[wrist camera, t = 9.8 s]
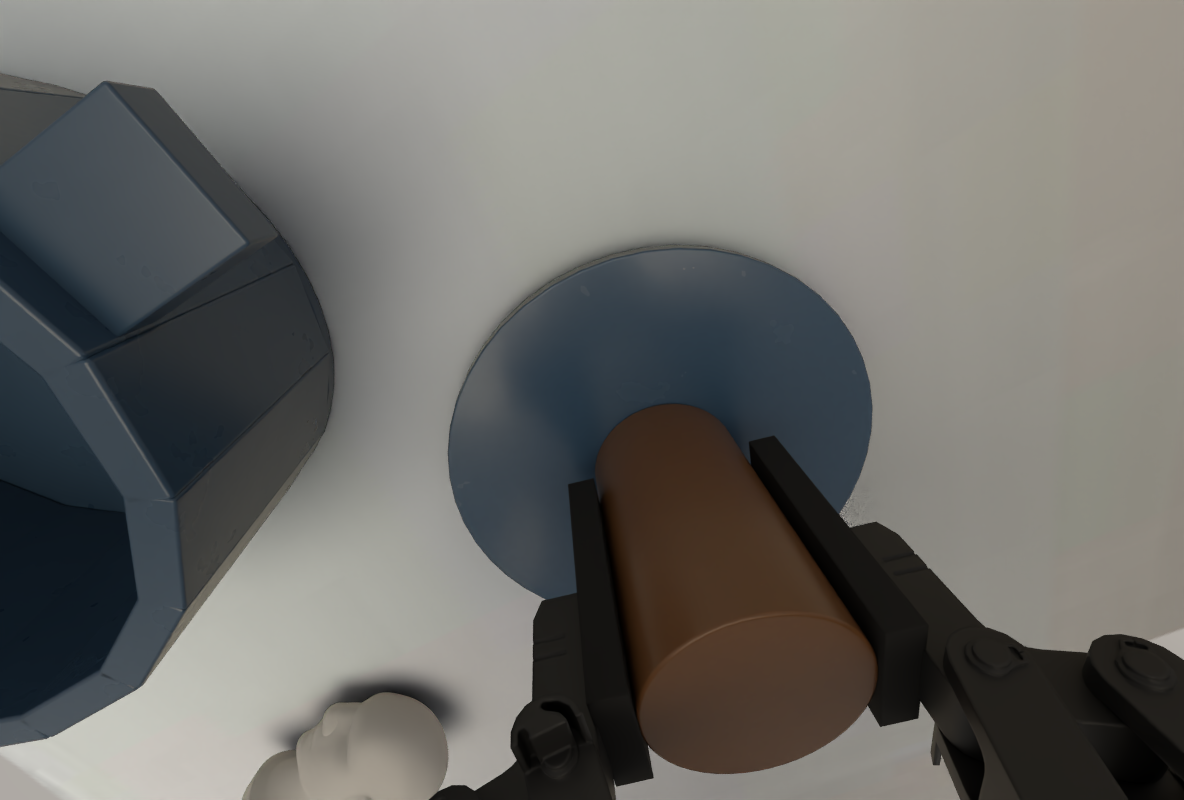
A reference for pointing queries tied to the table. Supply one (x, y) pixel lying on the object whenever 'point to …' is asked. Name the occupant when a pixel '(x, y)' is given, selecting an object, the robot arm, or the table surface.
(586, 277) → the tin lid
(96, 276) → the tin
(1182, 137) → the table surface
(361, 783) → the mannequin head
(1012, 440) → the table surface
